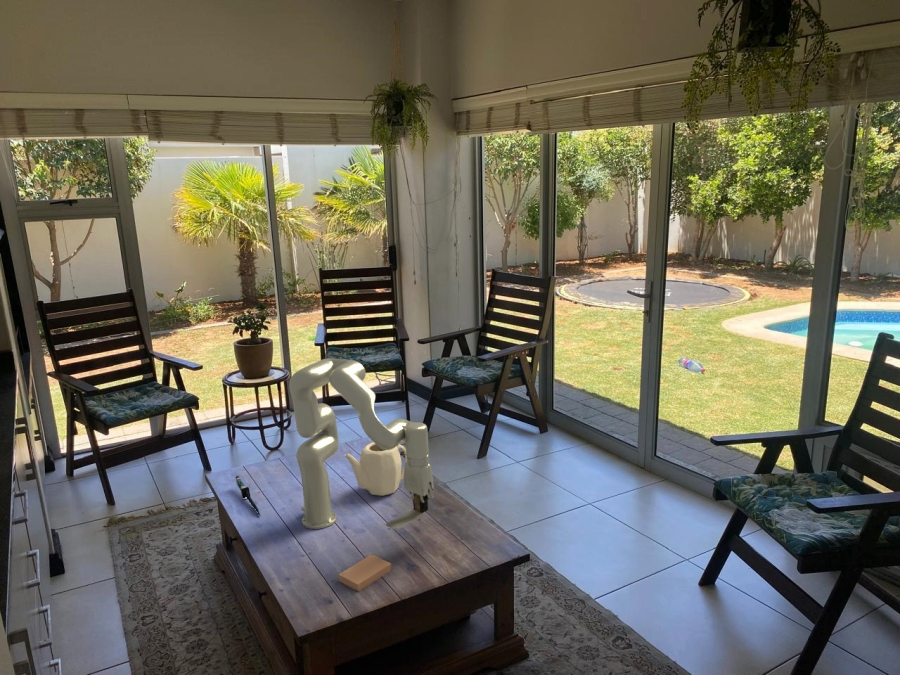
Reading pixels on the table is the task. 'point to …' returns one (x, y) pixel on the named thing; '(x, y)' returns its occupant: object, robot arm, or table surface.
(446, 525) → the table surface
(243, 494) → the knife
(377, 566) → the tile
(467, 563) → the table surface
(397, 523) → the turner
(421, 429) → the robot arm
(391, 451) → the cream teapot
